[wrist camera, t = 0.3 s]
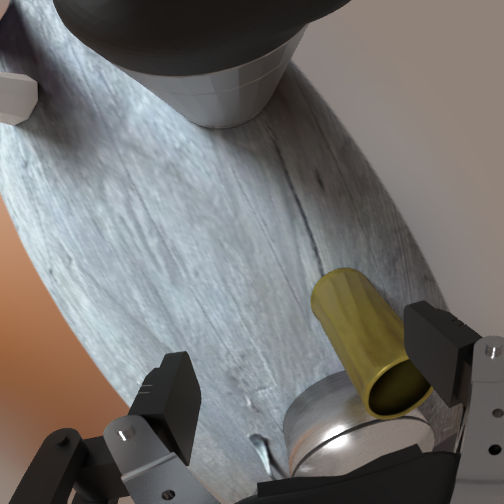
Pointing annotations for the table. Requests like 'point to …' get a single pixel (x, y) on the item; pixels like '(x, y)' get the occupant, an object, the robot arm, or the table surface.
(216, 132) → the table surface
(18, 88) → the pepper shaker
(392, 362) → the vase
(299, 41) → the robot arm
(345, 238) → the table surface
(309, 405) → the steel pot
